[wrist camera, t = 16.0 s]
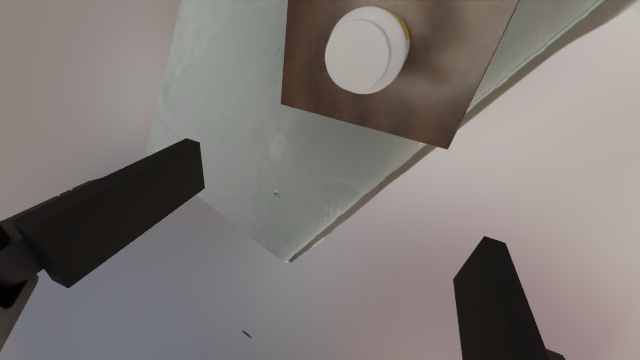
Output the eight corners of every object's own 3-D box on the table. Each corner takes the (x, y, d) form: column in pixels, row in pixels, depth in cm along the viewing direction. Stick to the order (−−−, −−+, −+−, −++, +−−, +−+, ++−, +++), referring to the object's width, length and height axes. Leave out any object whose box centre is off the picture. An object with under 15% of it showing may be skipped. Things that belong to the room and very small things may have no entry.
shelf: (499, -6, 30) (528, -18, 22) (442, 123, 39) (447, 149, 31) (323, -33, 34) (291, -52, 26) (308, 89, 43) (280, 104, 35)
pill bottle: (360, 3, 26) (325, -11, 17) (421, 21, 25) (420, 18, 16) (342, 68, 30) (304, 87, 21) (395, 87, 29) (381, 115, 20)
